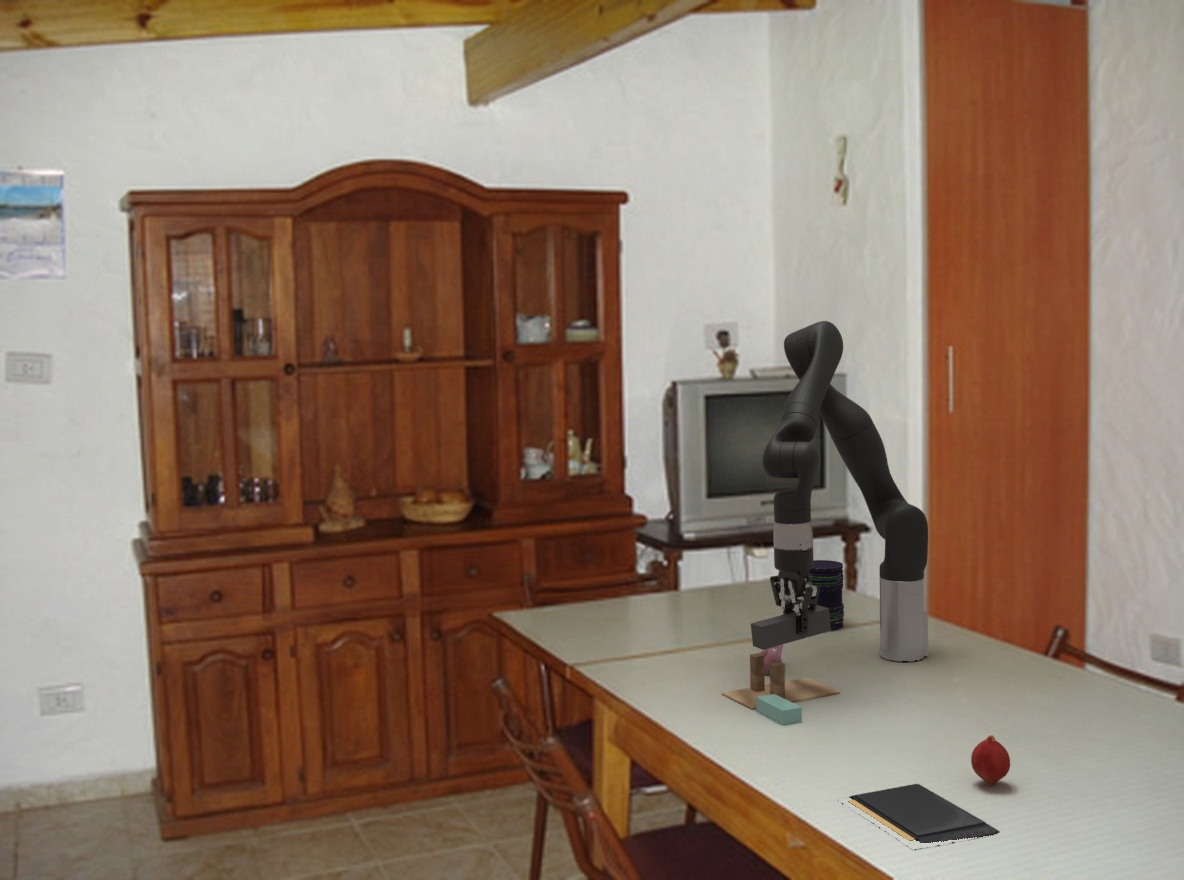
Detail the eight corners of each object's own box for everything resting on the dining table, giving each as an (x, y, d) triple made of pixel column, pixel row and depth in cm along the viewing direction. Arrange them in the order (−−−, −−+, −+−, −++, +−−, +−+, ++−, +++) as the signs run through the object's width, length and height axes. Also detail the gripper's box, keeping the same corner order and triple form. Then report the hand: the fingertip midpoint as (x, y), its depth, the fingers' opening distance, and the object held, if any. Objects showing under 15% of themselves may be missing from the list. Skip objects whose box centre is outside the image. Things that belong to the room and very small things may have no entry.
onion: (965, 778, 195) (965, 729, 194) (1000, 776, 195) (1001, 727, 194) (979, 792, 189) (979, 741, 188) (1016, 790, 189) (1016, 739, 189)
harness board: (806, 679, 250) (806, 643, 249) (839, 693, 240) (839, 656, 239) (721, 694, 241) (721, 657, 241) (752, 709, 232) (751, 671, 231)
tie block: (774, 709, 233) (774, 693, 232) (801, 723, 224) (801, 707, 224) (756, 712, 231) (756, 697, 231) (783, 726, 223) (782, 710, 222)
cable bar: (820, 627, 245) (818, 605, 245) (831, 630, 242) (828, 608, 241) (752, 645, 238) (750, 623, 238) (763, 649, 235) (760, 627, 235)
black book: (1003, 825, 174) (909, 842, 169) (1003, 838, 174) (909, 856, 169) (922, 777, 193) (835, 791, 188) (922, 788, 193) (835, 803, 188)
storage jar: (850, 624, 293) (849, 562, 292) (835, 633, 285) (834, 569, 284) (811, 619, 299) (810, 558, 297) (794, 628, 290) (794, 566, 289)
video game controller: (771, 683, 253) (786, 654, 252) (751, 673, 254) (766, 643, 253) (773, 669, 263) (788, 641, 262) (754, 660, 264) (768, 631, 262)
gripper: (756, 541, 243) (759, 627, 245) (798, 552, 231) (801, 642, 232) (788, 537, 247) (790, 621, 248) (831, 547, 234) (833, 636, 236)
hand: (795, 631), depth 240 cm, fingers closed on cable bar, 3 cm apart
